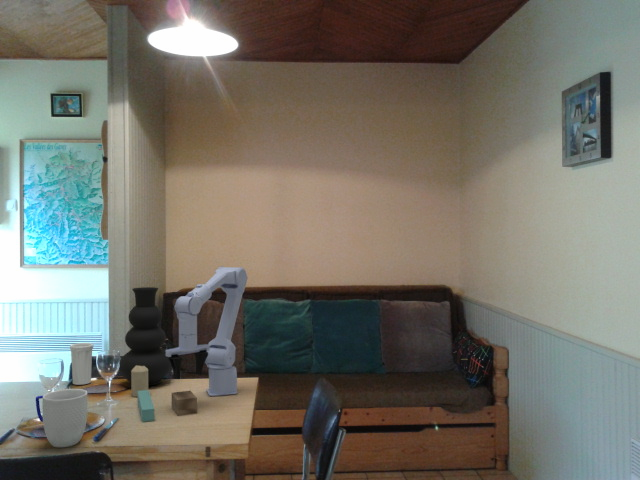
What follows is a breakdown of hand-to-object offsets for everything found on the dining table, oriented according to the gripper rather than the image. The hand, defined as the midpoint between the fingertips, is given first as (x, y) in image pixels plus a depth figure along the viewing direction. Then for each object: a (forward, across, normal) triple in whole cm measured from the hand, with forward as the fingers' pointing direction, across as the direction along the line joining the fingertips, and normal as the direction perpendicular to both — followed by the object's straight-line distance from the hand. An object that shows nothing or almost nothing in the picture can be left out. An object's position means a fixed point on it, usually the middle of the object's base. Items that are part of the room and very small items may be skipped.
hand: (188, 375), depth 189 cm
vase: (+10, -1, -35) cm, 36 cm away
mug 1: (+10, +38, -4) cm, 40 cm away
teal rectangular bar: (+10, +13, -4) cm, 16 cm away
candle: (+10, +7, -22) cm, 25 cm away
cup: (+10, +17, -50) cm, 54 cm away
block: (+10, +3, +4) cm, 11 cm away
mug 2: (+10, +40, +9) cm, 42 cm away
